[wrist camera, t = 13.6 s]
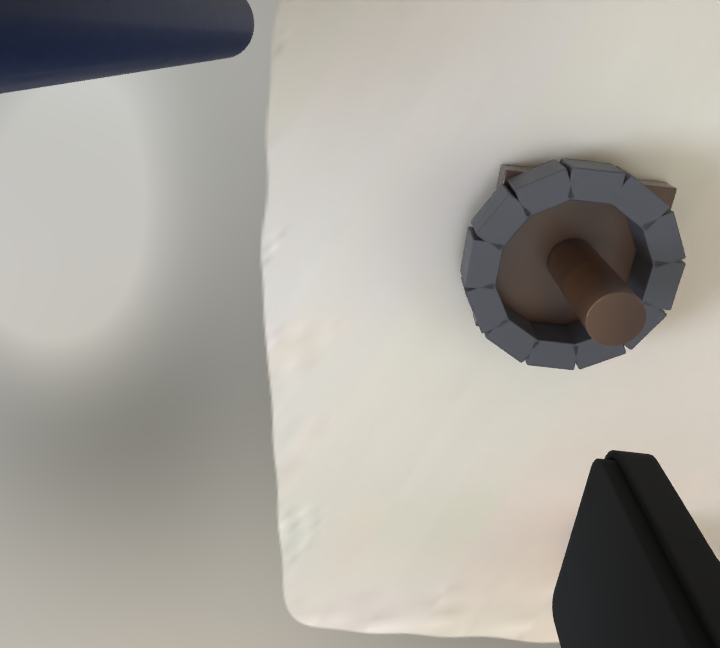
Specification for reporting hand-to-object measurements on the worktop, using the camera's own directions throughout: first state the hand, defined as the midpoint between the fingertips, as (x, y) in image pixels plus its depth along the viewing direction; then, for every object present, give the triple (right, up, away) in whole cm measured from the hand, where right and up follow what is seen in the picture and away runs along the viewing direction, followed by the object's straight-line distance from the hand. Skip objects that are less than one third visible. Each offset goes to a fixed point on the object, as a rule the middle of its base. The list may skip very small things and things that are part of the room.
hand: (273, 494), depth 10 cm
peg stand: (+13, +7, +27) cm, 31 cm away
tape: (+12, +6, +26) cm, 29 cm away
